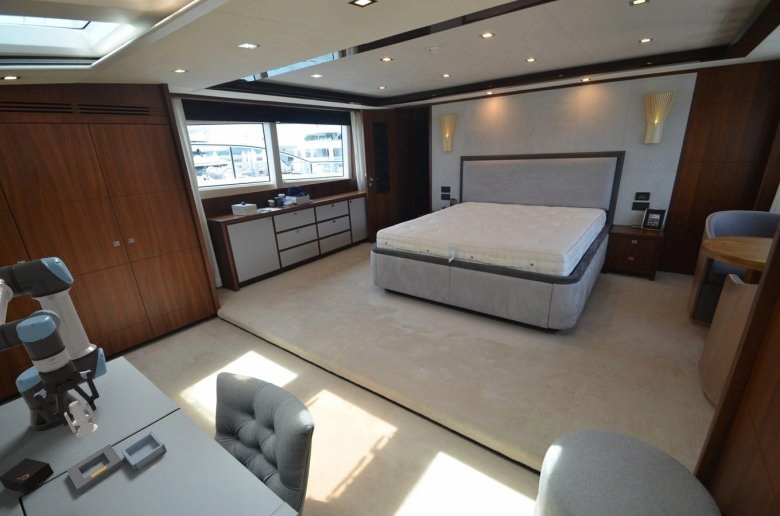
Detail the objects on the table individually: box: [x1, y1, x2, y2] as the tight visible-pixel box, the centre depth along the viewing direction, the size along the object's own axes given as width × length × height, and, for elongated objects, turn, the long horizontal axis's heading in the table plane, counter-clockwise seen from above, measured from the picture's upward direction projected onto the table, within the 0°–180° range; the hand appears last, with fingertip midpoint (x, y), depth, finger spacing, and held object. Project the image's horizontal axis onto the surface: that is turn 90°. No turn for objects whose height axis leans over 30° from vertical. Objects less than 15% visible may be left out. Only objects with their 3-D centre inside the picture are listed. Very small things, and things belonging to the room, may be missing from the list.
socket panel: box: [66, 444, 124, 494], centre depth 114 cm, size 12×12×2 cm
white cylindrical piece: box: [68, 401, 99, 439], centre depth 108 cm, size 5×5×12 cm
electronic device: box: [0, 457, 55, 495], centre depth 112 cm, size 7×11×5 cm
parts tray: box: [121, 431, 167, 473], centre depth 119 cm, size 11×10×3 cm
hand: (84, 424), depth 109 cm, fingers closed on white cylindrical piece, 4 cm apart
